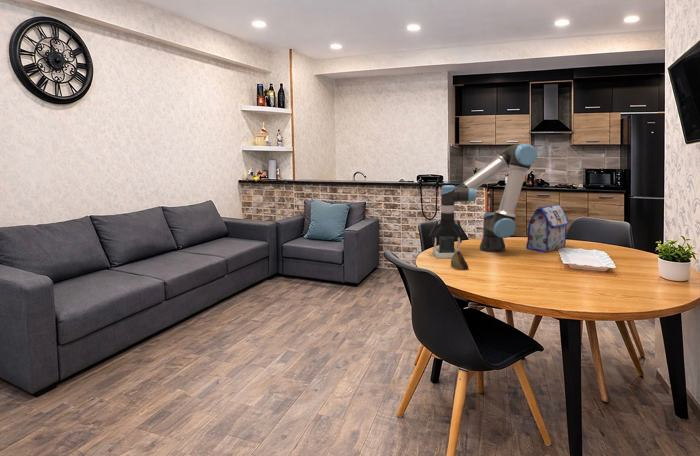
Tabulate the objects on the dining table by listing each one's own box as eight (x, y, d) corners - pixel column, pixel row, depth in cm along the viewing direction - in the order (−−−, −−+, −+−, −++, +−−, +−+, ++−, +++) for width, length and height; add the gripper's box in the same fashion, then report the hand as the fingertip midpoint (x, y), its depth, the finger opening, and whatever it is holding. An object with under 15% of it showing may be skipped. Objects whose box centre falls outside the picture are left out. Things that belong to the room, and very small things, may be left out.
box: (452, 253, 267) (452, 235, 266) (454, 255, 262) (454, 237, 260) (438, 253, 267) (439, 236, 266) (440, 255, 262) (440, 237, 260)
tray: (456, 252, 272) (456, 248, 271) (461, 258, 258) (461, 253, 257) (432, 253, 272) (432, 248, 271) (436, 258, 258) (436, 253, 257)
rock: (445, 261, 243) (447, 263, 233) (455, 248, 242) (458, 249, 232) (461, 273, 243) (465, 275, 233) (471, 260, 242) (475, 262, 232)
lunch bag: (550, 254, 265) (553, 208, 261) (524, 249, 278) (526, 206, 273) (569, 248, 279) (572, 205, 274) (543, 244, 292) (546, 203, 287)
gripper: (467, 211, 264) (466, 246, 268) (424, 211, 264) (424, 247, 268) (471, 212, 257) (469, 249, 260) (426, 213, 257) (426, 250, 261)
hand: (446, 248), depth 264 cm, fingers open, 13 cm apart
